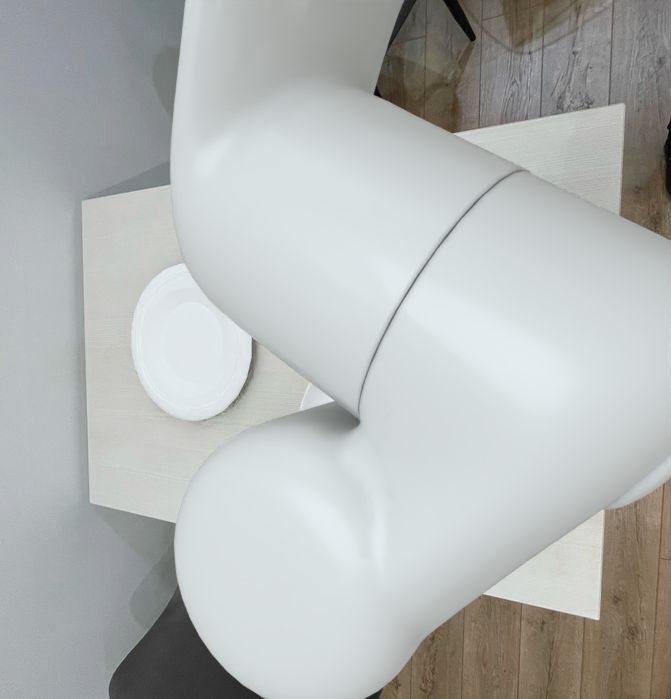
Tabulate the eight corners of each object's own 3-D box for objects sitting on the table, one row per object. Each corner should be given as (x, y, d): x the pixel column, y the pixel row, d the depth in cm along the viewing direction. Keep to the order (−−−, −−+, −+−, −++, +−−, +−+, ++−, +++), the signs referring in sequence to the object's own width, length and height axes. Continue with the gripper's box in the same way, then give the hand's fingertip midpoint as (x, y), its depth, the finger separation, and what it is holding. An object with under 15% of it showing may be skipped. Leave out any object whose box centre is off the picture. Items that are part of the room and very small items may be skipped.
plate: (266, 418, 81) (259, 420, 79) (146, 420, 92) (137, 422, 91) (250, 251, 81) (243, 250, 79) (131, 275, 92) (122, 274, 90)
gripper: (529, 285, 21) (565, 298, 38) (260, 470, 28) (390, 413, 44) (649, 450, 20) (633, 388, 36) (334, 605, 26) (440, 494, 43)
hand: (499, 402), depth 40 cm, fingers closed
